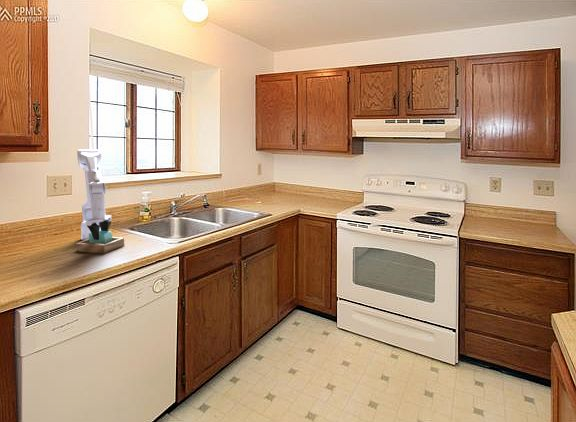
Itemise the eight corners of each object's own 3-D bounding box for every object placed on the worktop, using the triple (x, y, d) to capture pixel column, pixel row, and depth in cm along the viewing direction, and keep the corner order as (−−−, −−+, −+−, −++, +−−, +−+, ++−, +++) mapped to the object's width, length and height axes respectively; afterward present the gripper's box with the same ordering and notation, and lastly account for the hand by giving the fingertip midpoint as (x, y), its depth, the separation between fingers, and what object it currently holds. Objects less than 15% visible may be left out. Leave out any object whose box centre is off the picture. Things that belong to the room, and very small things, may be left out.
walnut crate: (76, 251, 169) (75, 243, 169) (98, 243, 183) (97, 235, 182) (104, 253, 166) (103, 245, 166) (124, 245, 180) (123, 237, 179)
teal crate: (89, 242, 173) (88, 233, 172) (97, 239, 177) (96, 230, 176) (105, 244, 171) (104, 234, 170) (112, 240, 176) (111, 231, 175)
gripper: (94, 211, 164) (97, 242, 166) (116, 206, 178) (118, 234, 180) (80, 210, 165) (82, 241, 167) (103, 205, 179) (105, 234, 181)
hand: (100, 238), depth 174 cm, fingers closed on teal crate, 5 cm apart
